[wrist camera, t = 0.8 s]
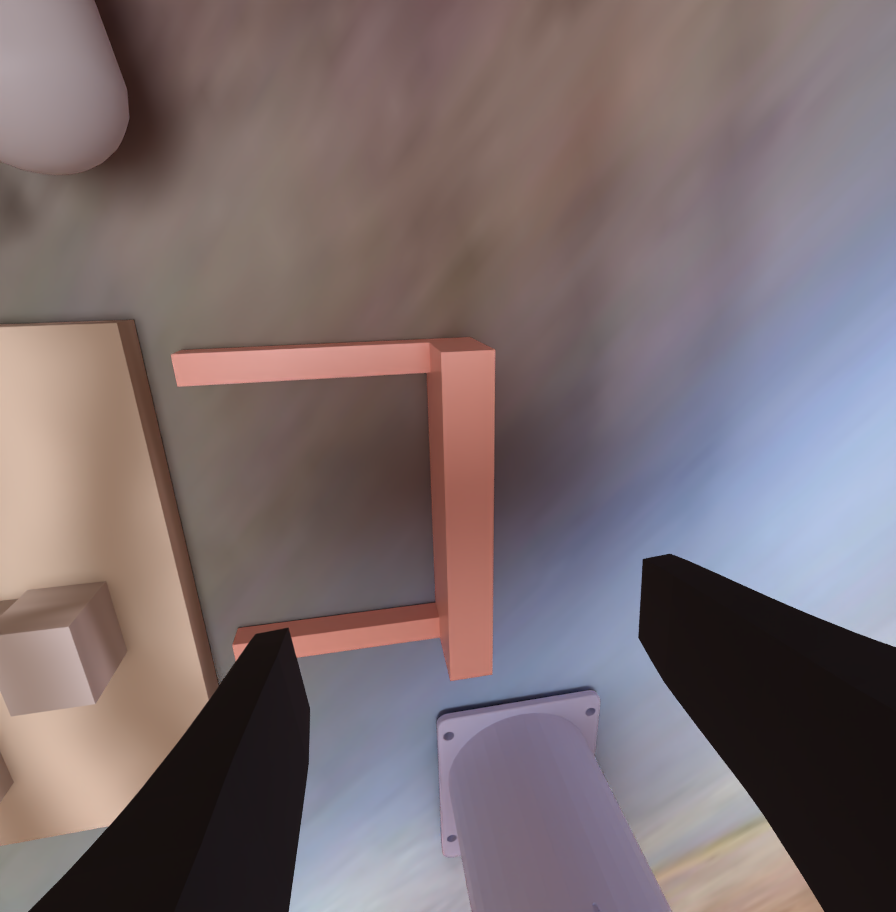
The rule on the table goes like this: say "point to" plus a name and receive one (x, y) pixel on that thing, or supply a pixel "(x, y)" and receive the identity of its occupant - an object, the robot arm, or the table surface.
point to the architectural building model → (88, 582)
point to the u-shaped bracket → (452, 487)
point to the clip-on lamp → (58, 87)
